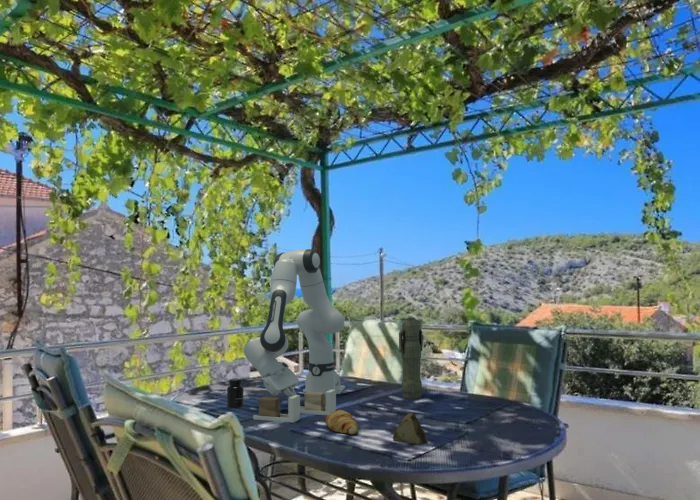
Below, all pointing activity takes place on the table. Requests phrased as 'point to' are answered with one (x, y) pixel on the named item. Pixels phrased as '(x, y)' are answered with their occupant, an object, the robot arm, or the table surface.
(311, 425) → the table surface
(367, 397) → the table surface
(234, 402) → the supplement bottle
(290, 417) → the grey l-shaped bracket
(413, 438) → the rock
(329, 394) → the white l-shaped piece
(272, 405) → the brown wooden block
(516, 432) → the table surface
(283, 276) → the robot arm
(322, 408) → the tan wooden block
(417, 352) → the thermos
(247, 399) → the table surface
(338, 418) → the croissant
